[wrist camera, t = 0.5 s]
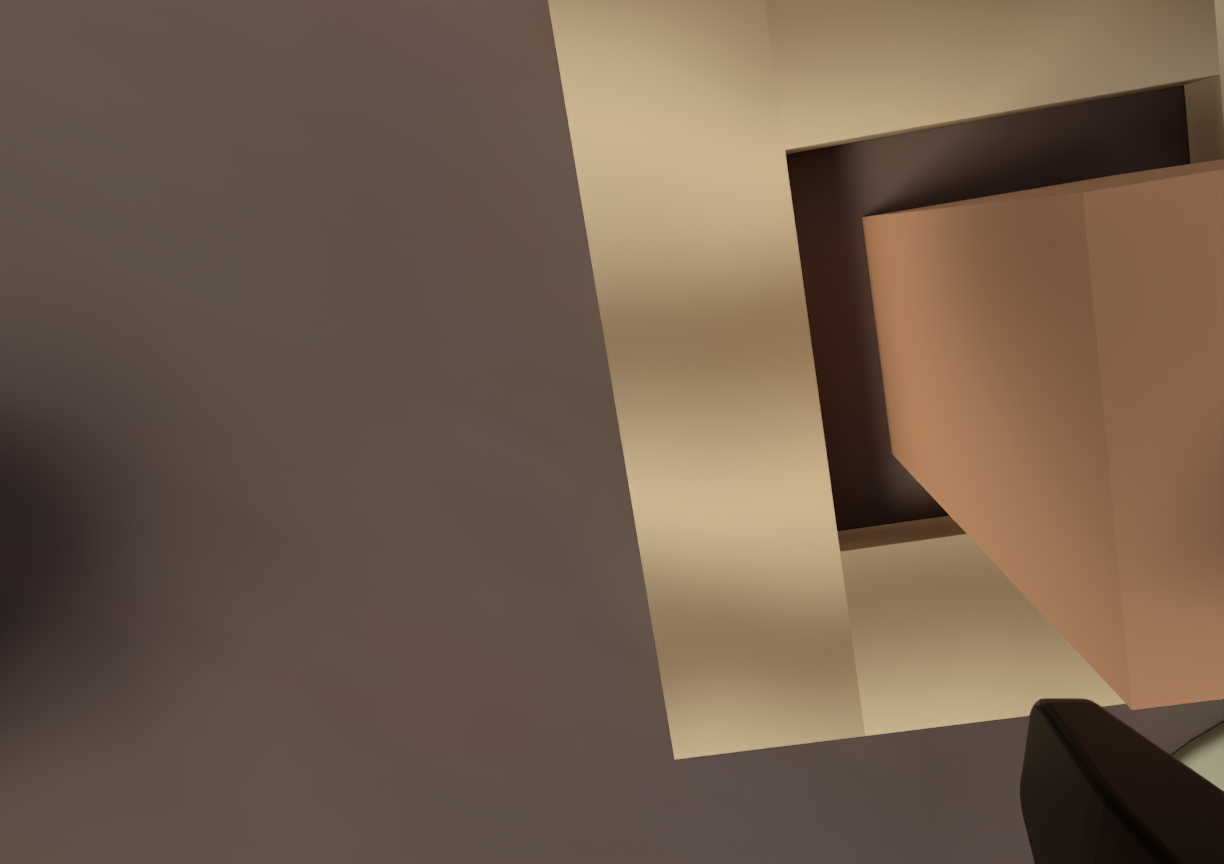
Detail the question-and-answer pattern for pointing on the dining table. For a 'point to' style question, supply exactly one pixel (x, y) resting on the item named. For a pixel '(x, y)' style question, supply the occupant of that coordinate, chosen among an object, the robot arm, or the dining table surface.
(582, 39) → the puzzle board
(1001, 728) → the dining table surface
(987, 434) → the block
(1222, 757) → the dish
